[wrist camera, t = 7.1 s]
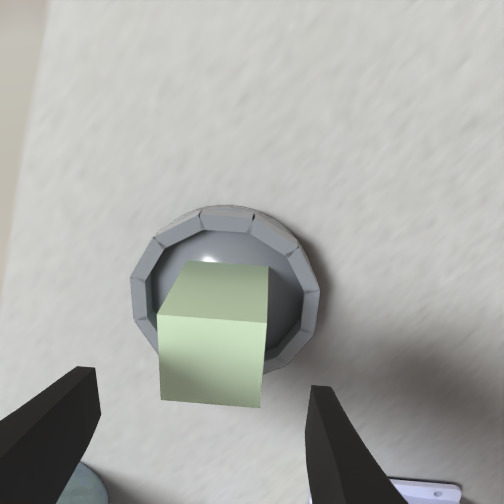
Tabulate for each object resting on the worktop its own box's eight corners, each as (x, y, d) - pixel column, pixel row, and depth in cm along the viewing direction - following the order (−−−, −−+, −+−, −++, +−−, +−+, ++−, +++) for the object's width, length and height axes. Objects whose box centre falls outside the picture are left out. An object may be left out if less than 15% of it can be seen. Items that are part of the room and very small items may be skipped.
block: (268, 266, 18) (267, 322, 13) (263, 335, 19) (259, 408, 15) (186, 260, 18) (156, 314, 13) (187, 329, 19) (160, 399, 15)
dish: (324, 211, 18) (329, 222, 16) (304, 362, 21) (307, 386, 19) (139, 198, 18) (124, 209, 16) (148, 350, 21) (137, 373, 20)
